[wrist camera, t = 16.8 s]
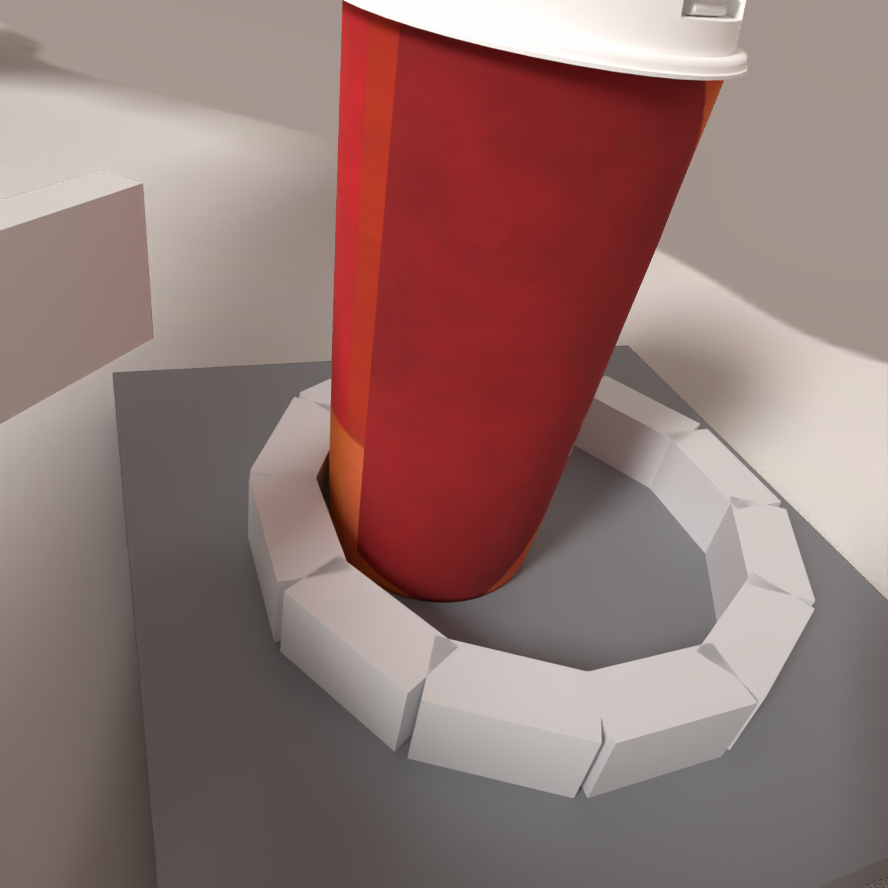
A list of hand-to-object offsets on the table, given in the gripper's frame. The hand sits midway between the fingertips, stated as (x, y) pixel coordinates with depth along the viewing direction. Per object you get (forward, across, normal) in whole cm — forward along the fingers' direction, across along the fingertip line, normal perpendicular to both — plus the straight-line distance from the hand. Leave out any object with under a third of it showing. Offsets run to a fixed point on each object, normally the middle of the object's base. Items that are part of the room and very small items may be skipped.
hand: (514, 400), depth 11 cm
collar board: (+7, 0, -10) cm, 12 cm away
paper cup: (+6, -3, -9) cm, 11 cm away
